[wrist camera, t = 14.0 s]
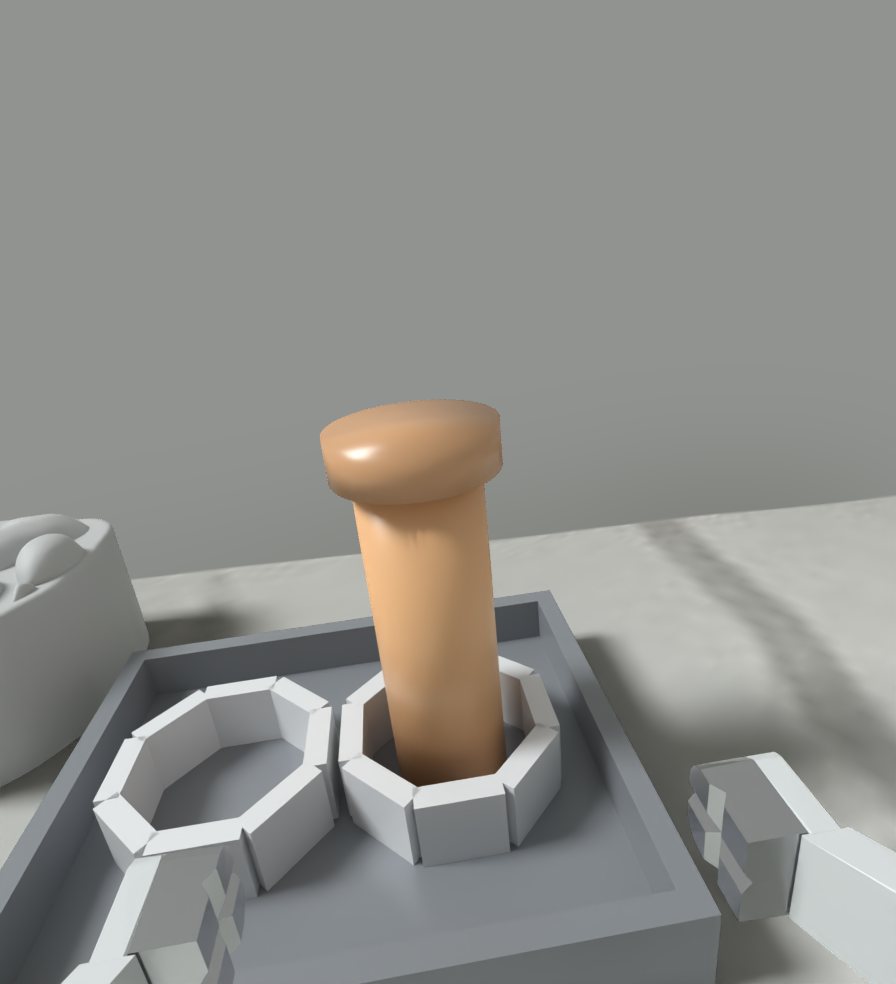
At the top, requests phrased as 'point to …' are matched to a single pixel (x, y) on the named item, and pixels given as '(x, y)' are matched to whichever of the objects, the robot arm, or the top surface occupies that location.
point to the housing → (368, 822)
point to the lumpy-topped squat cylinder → (59, 633)
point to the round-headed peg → (428, 575)
